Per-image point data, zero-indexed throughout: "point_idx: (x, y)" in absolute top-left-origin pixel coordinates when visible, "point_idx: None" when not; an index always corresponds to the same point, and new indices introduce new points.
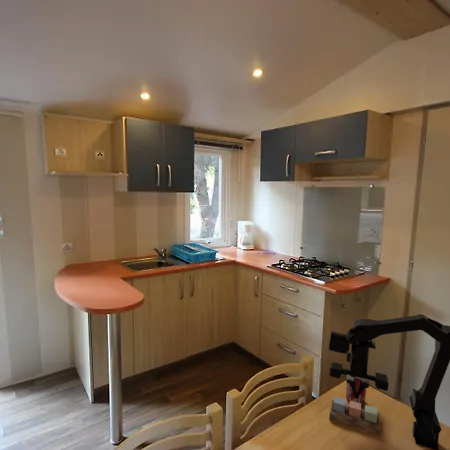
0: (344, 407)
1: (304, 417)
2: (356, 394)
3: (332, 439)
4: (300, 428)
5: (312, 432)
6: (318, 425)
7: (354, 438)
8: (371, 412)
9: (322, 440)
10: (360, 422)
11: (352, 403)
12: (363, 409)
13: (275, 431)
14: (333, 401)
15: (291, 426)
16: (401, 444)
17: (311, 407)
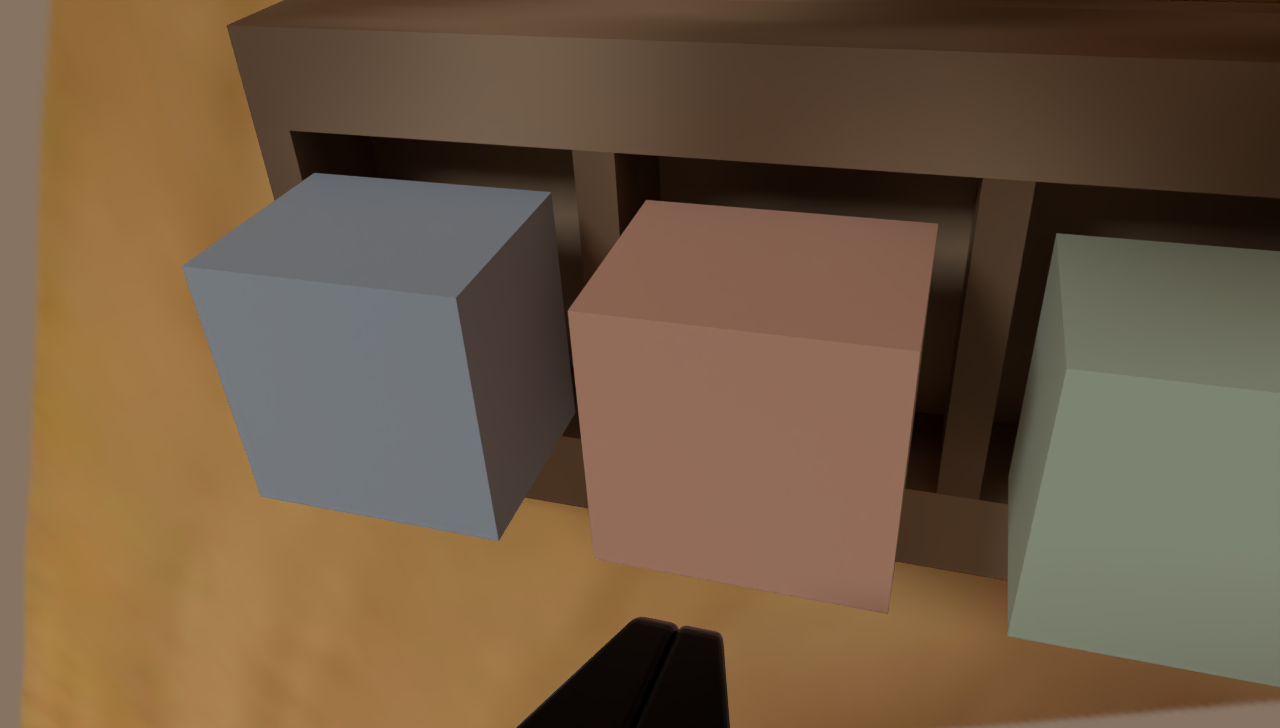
0: (512, 504)
1: (134, 443)
2: (647, 716)
3: (548, 695)
4: (198, 612)
5: (323, 641)
6: (332, 531)
7: (819, 645)
8: (1205, 644)
9: (454, 718)
10: (907, 560)
11: (656, 424)
12: (1047, 90)
13: (58, 680)
14: (273, 80)
15: (116, 604)
16: None
17: (82, 199)
